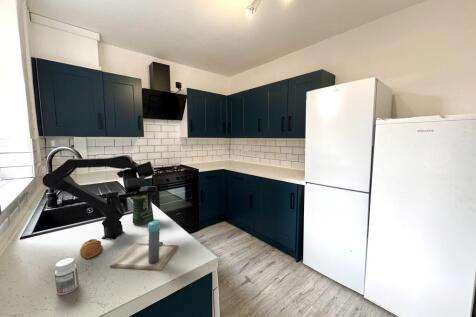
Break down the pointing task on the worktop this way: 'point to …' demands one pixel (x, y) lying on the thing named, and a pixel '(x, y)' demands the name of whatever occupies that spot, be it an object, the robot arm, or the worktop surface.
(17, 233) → the worktop surface
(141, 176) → the robot arm
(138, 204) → the coffee jar
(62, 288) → the pill bottle
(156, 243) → the ball
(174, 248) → the clipboard
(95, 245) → the pastry
